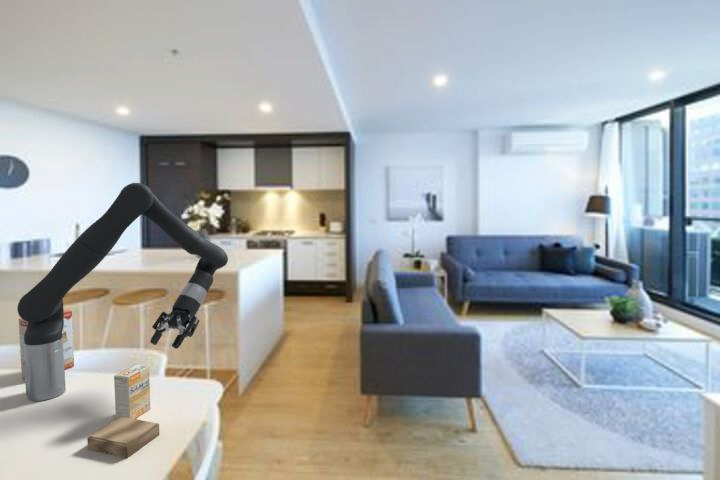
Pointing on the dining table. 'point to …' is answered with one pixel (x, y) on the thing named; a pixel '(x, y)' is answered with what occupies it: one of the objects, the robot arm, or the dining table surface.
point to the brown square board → (123, 436)
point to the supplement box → (132, 392)
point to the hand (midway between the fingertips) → (163, 345)
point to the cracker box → (66, 335)
